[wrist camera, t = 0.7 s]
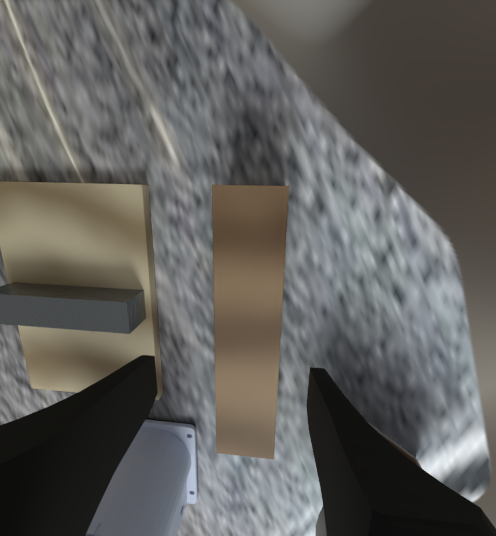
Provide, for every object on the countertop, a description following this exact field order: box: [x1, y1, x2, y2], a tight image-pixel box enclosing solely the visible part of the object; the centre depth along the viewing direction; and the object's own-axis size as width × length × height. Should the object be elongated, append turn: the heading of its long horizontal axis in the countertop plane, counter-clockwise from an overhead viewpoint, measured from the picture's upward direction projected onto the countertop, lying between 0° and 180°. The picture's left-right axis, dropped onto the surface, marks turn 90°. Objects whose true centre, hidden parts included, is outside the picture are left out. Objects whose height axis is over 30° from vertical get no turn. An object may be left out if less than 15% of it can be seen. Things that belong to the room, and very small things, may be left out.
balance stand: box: [0, 181, 163, 400], centre depth 21 cm, size 18×12×4 cm, turn 179°
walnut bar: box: [212, 185, 289, 459], centre depth 19 cm, size 18×4×6 cm, turn 179°
